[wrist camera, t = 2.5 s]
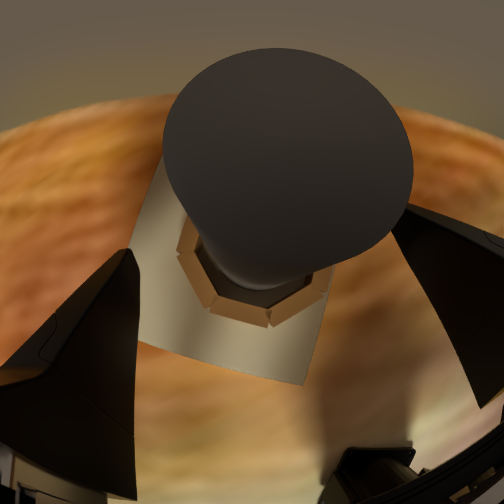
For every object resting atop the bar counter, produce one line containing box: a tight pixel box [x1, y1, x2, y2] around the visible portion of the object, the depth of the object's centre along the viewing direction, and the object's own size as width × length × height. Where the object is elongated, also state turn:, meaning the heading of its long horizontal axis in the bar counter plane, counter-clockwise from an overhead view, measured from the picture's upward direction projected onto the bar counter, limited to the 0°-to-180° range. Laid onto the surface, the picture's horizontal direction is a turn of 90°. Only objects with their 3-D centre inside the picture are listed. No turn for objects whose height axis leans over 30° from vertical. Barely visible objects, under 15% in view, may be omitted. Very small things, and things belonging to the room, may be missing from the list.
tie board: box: [128, 154, 335, 386], centre depth 17 cm, size 13×13×2 cm
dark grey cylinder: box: [163, 48, 413, 291], centre depth 11 cm, size 5×5×13 cm
